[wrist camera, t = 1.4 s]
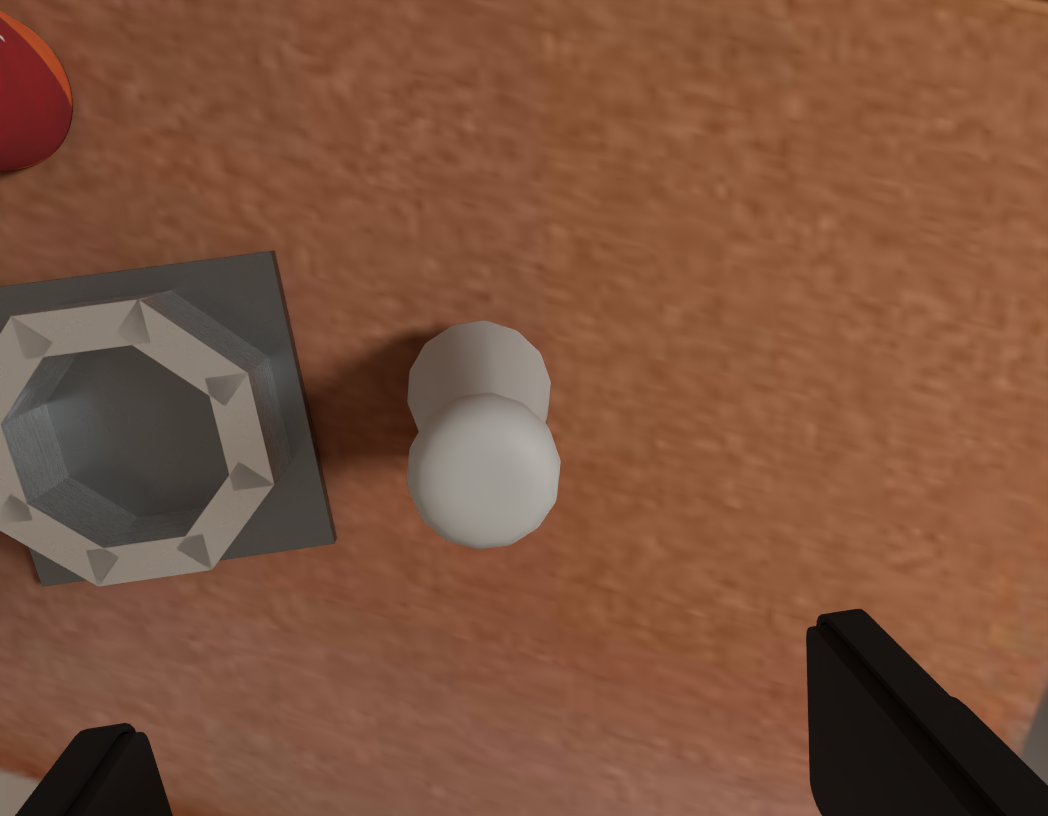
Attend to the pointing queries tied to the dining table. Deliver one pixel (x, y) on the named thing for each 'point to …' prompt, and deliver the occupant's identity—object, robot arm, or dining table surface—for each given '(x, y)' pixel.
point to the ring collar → (155, 422)
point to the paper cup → (30, 97)
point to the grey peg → (481, 436)
